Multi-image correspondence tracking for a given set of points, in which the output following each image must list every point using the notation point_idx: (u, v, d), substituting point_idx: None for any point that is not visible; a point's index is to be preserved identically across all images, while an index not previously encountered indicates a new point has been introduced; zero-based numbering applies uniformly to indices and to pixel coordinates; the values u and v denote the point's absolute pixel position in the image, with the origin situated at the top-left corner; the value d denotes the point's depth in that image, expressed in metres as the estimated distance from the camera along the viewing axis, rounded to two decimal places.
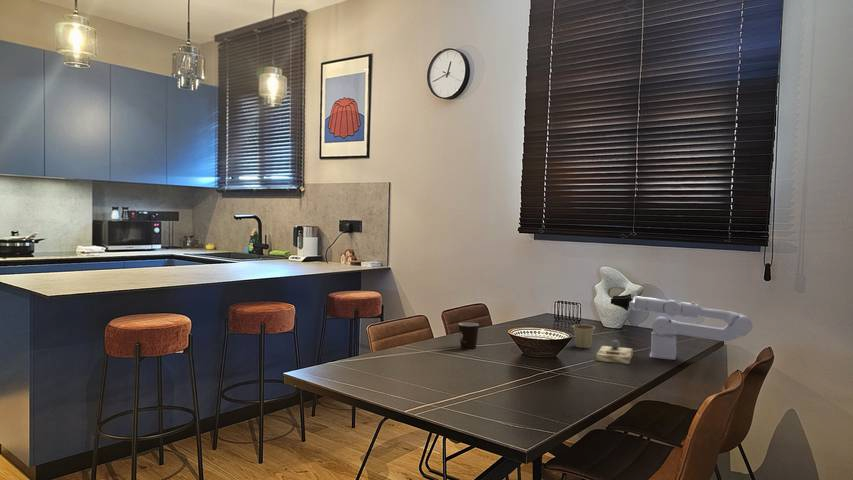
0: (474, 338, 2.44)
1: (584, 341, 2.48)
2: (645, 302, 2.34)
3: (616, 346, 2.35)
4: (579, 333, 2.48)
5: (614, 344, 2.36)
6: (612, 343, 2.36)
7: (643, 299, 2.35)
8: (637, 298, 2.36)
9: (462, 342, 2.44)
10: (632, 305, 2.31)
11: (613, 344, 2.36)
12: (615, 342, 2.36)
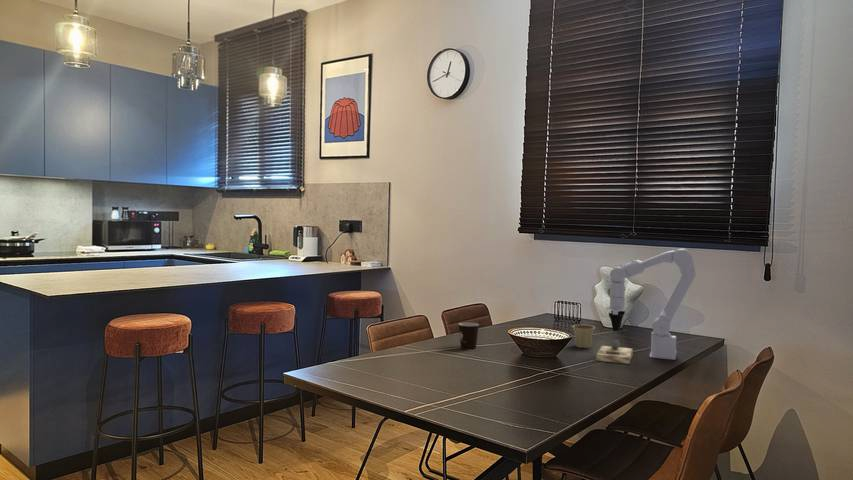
0: (474, 338, 2.44)
1: (584, 341, 2.48)
2: (614, 298, 2.39)
3: (616, 346, 2.35)
4: (579, 333, 2.48)
5: (614, 344, 2.36)
6: (612, 343, 2.36)
7: (611, 300, 2.40)
8: (611, 305, 2.40)
9: (462, 342, 2.44)
10: (615, 311, 2.34)
11: (613, 344, 2.36)
12: (615, 342, 2.36)
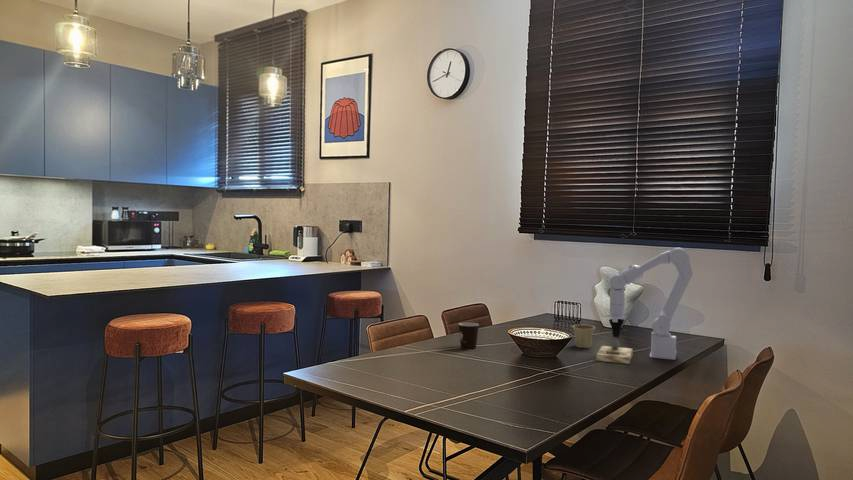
0: (474, 338, 2.44)
1: (584, 341, 2.48)
2: (613, 306, 2.39)
3: (616, 346, 2.35)
4: (579, 333, 2.48)
5: (614, 344, 2.36)
6: (612, 343, 2.36)
7: (611, 307, 2.40)
8: (611, 313, 2.40)
9: (462, 342, 2.44)
10: (615, 318, 2.34)
11: (613, 344, 2.36)
12: (615, 342, 2.36)
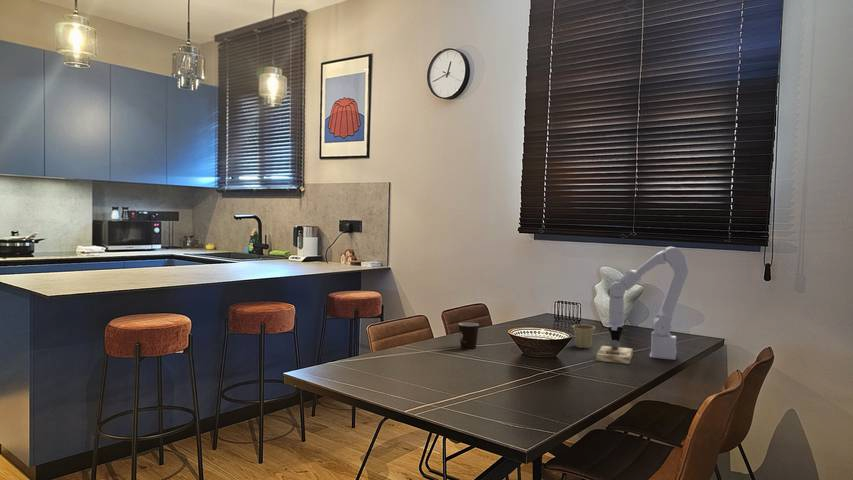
0: (474, 338, 2.44)
1: (584, 341, 2.48)
2: (613, 313, 2.37)
3: (616, 346, 2.35)
4: (579, 333, 2.48)
5: (614, 344, 2.35)
6: (612, 343, 2.36)
7: (610, 315, 2.38)
8: (610, 321, 2.38)
9: (462, 342, 2.44)
10: (614, 327, 2.32)
11: (613, 345, 2.35)
12: (615, 342, 2.36)
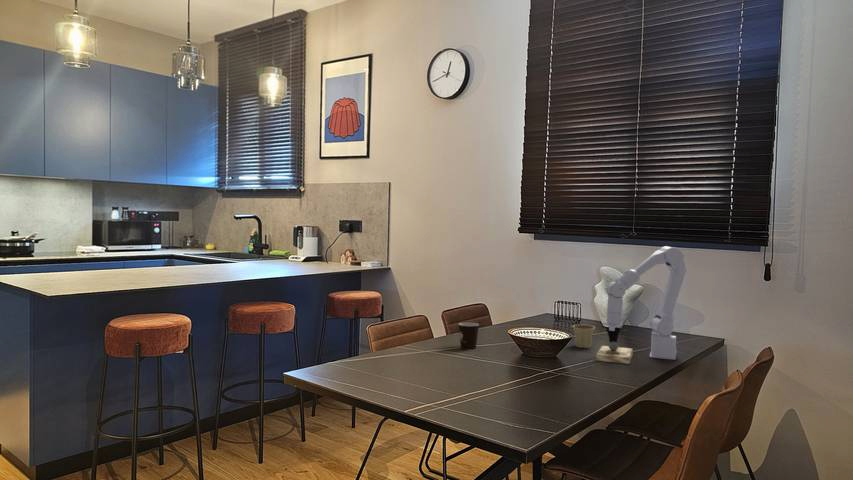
0: (474, 338, 2.44)
1: (584, 341, 2.48)
2: (611, 314, 2.33)
3: None
4: (579, 333, 2.48)
5: None
6: None
7: (608, 315, 2.34)
8: (608, 321, 2.34)
9: (462, 342, 2.44)
10: (612, 327, 2.28)
11: None
12: (613, 350, 2.34)
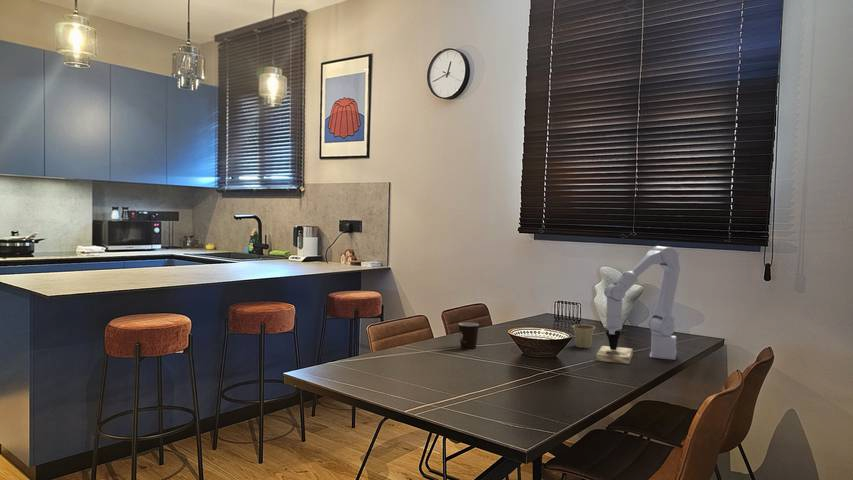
0: (474, 338, 2.44)
1: (584, 341, 2.48)
2: (610, 317, 2.29)
3: None
4: (579, 333, 2.48)
5: (614, 354, 2.27)
6: (612, 353, 2.28)
7: (607, 318, 2.30)
8: (607, 324, 2.30)
9: (462, 342, 2.44)
10: (612, 330, 2.24)
11: (613, 354, 2.27)
12: (615, 353, 2.27)
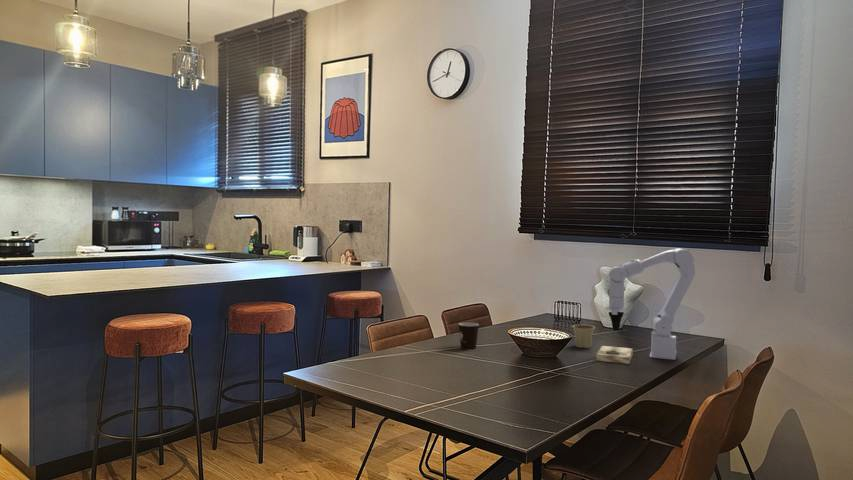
0: (474, 338, 2.44)
1: (584, 341, 2.48)
2: (613, 298, 2.35)
3: None
4: (579, 333, 2.48)
5: (613, 353, 2.28)
6: (611, 352, 2.28)
7: (610, 300, 2.36)
8: (610, 306, 2.36)
9: (462, 342, 2.44)
10: (615, 311, 2.30)
11: None
12: (614, 352, 2.28)
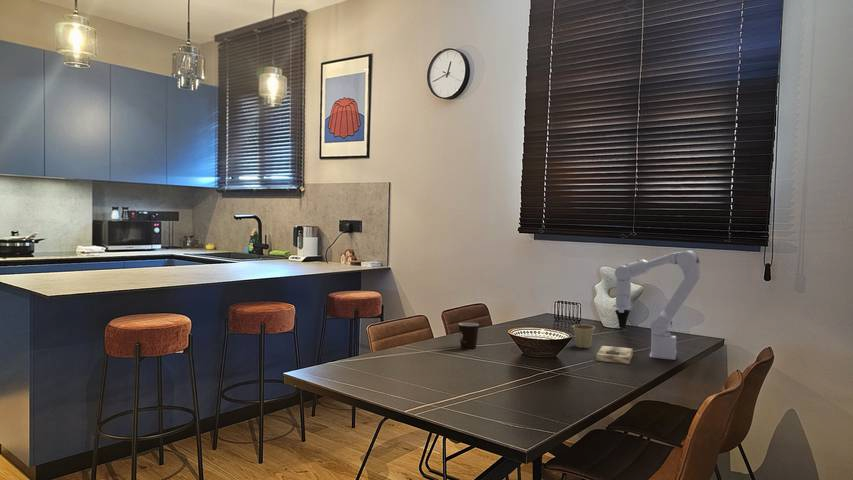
0: (474, 338, 2.44)
1: (584, 341, 2.48)
2: (619, 296, 2.40)
3: (614, 354, 2.28)
4: (579, 333, 2.48)
5: (612, 352, 2.28)
6: (610, 352, 2.29)
7: (617, 298, 2.42)
8: (617, 304, 2.42)
9: (462, 342, 2.44)
10: (621, 309, 2.36)
11: (611, 353, 2.28)
12: (613, 351, 2.29)
